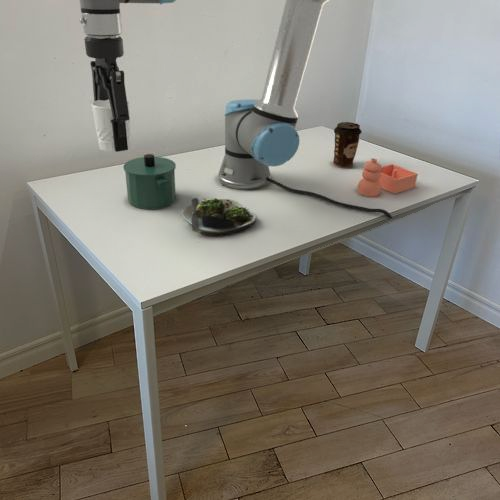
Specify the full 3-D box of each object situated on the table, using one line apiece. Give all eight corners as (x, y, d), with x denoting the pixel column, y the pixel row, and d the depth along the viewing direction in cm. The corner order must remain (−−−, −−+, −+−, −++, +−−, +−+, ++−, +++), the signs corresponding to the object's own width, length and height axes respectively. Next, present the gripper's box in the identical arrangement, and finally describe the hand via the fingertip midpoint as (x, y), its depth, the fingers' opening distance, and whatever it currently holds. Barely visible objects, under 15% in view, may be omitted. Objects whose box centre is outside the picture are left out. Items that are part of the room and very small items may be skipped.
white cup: (91, 152, 111) (85, 106, 106) (105, 141, 117) (100, 97, 112) (125, 154, 110) (121, 108, 105) (137, 143, 116) (134, 100, 111)
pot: (160, 183, 143) (158, 153, 139) (187, 207, 130) (186, 174, 126) (118, 192, 137) (114, 160, 133) (142, 217, 125) (140, 183, 120)
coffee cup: (361, 164, 163) (367, 124, 156) (351, 171, 157) (356, 130, 150) (336, 158, 167) (341, 119, 160) (325, 165, 161) (330, 125, 154)
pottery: (389, 176, 154) (395, 145, 149) (414, 187, 147) (421, 155, 142) (348, 189, 144) (352, 156, 140) (373, 200, 138) (378, 166, 133)
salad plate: (165, 210, 128) (164, 194, 126) (226, 197, 136) (226, 181, 134) (199, 243, 114) (199, 225, 112) (265, 226, 122) (266, 209, 120)
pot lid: (163, 157, 138) (162, 144, 136) (184, 173, 128) (183, 159, 126) (116, 165, 131) (115, 151, 129) (135, 183, 122) (133, 168, 120)
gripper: (69, 30, 107) (84, 134, 119) (102, 43, 93) (114, 161, 104) (104, 29, 111) (114, 130, 122) (140, 41, 96) (148, 155, 108)
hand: (114, 144), depth 113 cm, fingers closed on white cup, 8 cm apart
